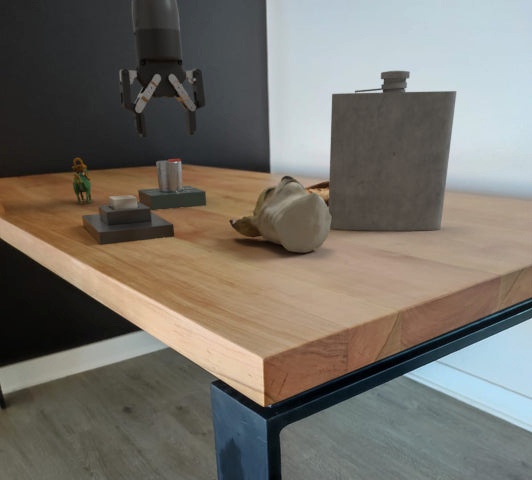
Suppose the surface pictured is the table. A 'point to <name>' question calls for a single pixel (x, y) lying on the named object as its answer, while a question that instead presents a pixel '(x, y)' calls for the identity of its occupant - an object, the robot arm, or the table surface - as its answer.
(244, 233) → the ceramic sculpture
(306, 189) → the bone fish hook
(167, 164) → the silver cylinder cluster
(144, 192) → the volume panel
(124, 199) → the cream rectangular block
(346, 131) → the hip flask
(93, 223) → the dark grey stepped block
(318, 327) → the table surface
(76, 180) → the figurine
